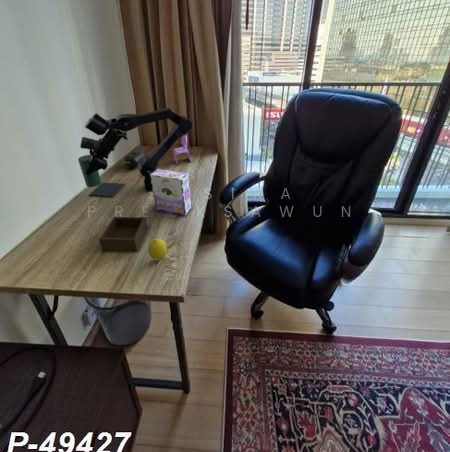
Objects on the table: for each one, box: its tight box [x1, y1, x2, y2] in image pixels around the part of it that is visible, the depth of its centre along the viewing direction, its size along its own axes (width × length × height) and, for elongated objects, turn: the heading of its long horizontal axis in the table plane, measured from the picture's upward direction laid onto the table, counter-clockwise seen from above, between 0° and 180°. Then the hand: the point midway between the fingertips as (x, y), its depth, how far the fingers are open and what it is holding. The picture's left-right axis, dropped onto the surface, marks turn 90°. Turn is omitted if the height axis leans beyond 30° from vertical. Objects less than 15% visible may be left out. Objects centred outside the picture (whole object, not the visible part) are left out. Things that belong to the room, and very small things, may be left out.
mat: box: [89, 182, 125, 198], centre depth 116 cm, size 11×11×1 cm
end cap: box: [124, 150, 146, 170], centre depth 138 cm, size 10×7×7 cm
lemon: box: [147, 238, 168, 262], centre depth 77 cm, size 6×6×8 cm
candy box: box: [150, 168, 192, 216], centre depth 99 cm, size 14×6×16 cm, turn 71°
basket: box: [98, 216, 149, 252], centre depth 86 cm, size 12×12×5 cm
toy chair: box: [172, 134, 193, 165], centre depth 140 cm, size 8×9×15 cm
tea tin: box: [77, 154, 102, 188], centre depth 103 cm, size 6×6×12 cm
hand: (86, 171), depth 102 cm, fingers closed on tea tin, 6 cm apart
